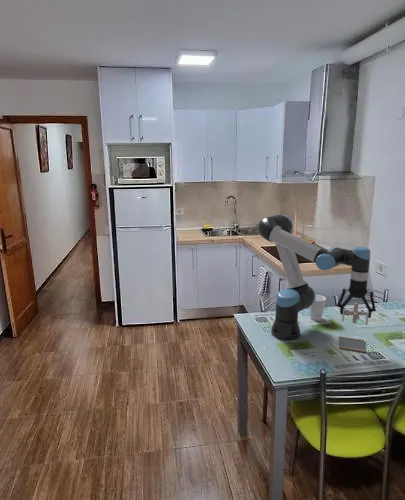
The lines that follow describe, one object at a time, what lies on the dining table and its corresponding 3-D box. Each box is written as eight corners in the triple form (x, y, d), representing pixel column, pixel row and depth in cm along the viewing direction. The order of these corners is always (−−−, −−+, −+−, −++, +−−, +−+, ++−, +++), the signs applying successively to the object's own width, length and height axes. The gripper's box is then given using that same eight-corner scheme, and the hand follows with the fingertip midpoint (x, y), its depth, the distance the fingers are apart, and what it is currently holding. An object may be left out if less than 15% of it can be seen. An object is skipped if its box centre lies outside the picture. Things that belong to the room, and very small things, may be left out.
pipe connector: (367, 327, 169) (369, 308, 167) (345, 325, 171) (347, 306, 169) (362, 319, 179) (364, 300, 176) (341, 317, 181) (343, 299, 178)
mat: (338, 348, 175) (339, 346, 174) (339, 337, 186) (339, 336, 185) (365, 353, 171) (365, 351, 170) (363, 341, 181) (364, 339, 181)
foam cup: (326, 321, 204) (327, 300, 201) (310, 321, 205) (311, 300, 201) (321, 314, 214) (322, 294, 211) (305, 314, 214) (307, 294, 211)
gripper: (333, 279, 170) (330, 321, 175) (386, 284, 162) (380, 328, 168) (333, 274, 177) (330, 315, 182) (384, 279, 169) (379, 322, 174)
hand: (354, 321), depth 175 cm, fingers closed on pipe connector, 10 cm apart
